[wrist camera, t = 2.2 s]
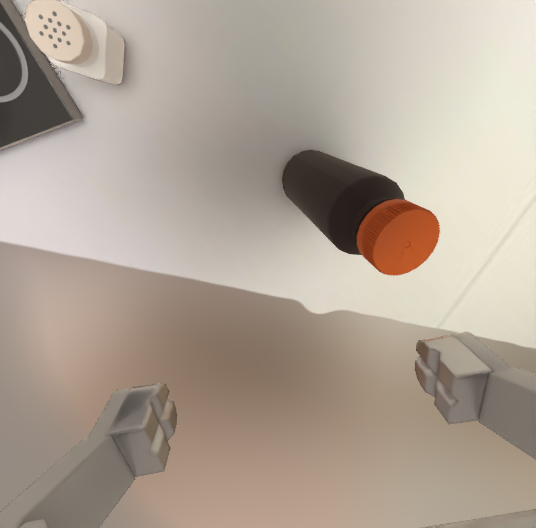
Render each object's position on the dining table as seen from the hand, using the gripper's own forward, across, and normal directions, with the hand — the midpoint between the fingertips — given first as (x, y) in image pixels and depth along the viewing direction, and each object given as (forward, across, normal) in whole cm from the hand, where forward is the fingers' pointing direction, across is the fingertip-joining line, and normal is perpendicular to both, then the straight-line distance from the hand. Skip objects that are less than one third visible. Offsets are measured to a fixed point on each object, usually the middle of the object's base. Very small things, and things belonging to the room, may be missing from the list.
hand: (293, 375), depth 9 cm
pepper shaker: (+25, +12, -17) cm, 33 cm away
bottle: (+30, -6, -2) cm, 31 cm away
